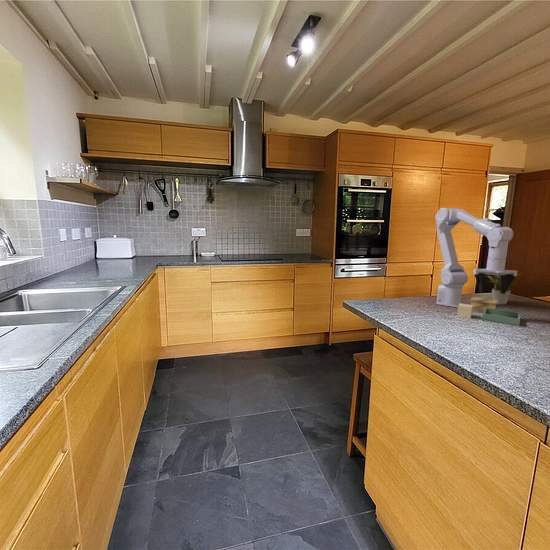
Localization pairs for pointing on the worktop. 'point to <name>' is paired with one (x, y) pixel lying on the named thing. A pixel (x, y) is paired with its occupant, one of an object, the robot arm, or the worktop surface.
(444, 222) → the robot arm
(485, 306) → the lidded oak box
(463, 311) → the sandstone cube
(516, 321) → the tray
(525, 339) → the worktop surface
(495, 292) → the house plant
